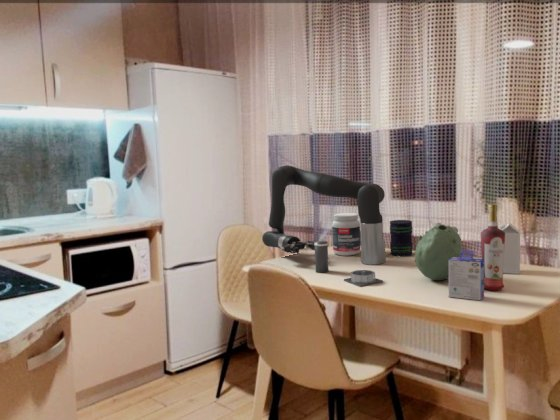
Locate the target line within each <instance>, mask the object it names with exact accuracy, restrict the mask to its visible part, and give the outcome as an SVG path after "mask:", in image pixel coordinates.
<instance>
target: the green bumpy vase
mask: <svg viewBox="0 0 560 420" xmlns="http://www.w3.org/2000/svg"><path fill="white" fill-rule="evenodd" d="M417 241H418V242H417V244H416V246H415V252H414V262H415V265H416V267H417V269H418V270H419V271H420V273H421V274H422V275H423V276H424V277H426V278H428V279H430V280H432V281H444V280H449V260H450V259H451V258H452V257H459V258H460V255H461V251H464V250H463V246H462V238H461V236H460V234H459V229H458V227H456V226H450V225H445V224H442V223H441V222H437V223H434V226H433V227H431V228H430V229H429V230H426V231H425V233H424V234H423V235H419V236H418V238H417Z"/></svg>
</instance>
